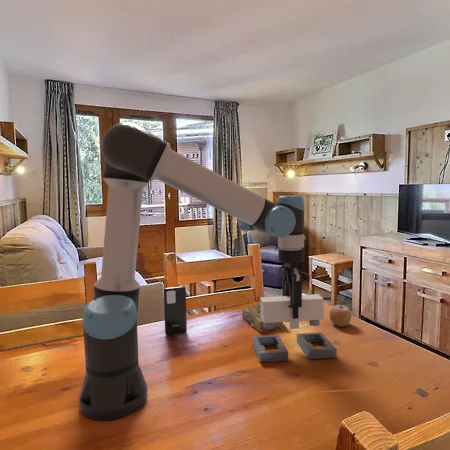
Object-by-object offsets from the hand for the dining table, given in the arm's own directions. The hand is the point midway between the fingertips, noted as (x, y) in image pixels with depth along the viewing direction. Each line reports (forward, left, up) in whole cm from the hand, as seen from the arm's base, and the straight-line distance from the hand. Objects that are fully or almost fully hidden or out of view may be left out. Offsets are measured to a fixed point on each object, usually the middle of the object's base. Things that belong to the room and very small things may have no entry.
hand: (291, 324), depth 107 cm
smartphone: (-35, +15, -7) cm, 39 cm away
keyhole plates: (0, 0, -7) cm, 7 cm away
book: (-5, +21, -8) cm, 23 cm away
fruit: (+22, +15, -7) cm, 27 cm away
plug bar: (0, 0, 0) cm, 0 cm away
